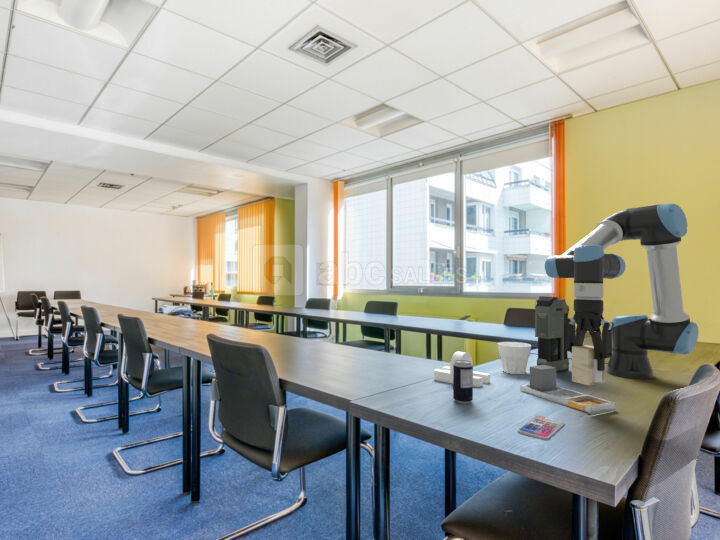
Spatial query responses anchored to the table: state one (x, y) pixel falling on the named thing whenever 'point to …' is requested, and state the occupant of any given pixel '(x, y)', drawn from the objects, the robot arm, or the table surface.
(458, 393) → the beverage can
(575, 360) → the panel block
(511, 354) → the cup
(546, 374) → the blank block
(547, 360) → the device
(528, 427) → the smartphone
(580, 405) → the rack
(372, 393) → the table surface
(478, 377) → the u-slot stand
